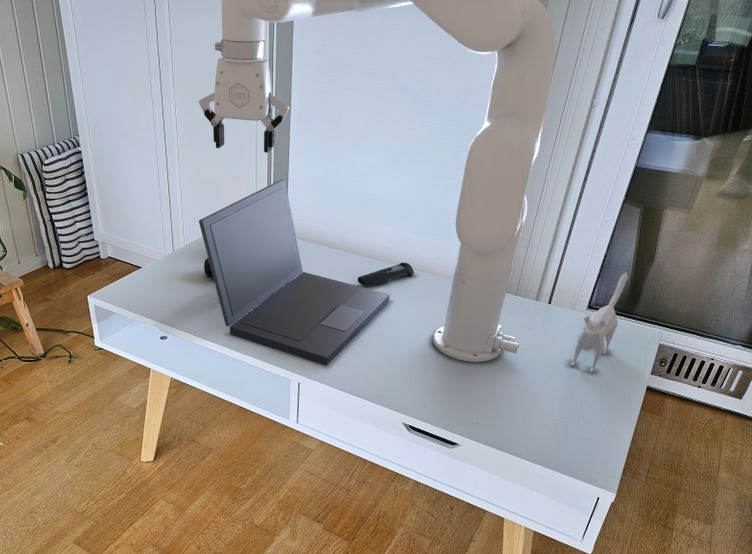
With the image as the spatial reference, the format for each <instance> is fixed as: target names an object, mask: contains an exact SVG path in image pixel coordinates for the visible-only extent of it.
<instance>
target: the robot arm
mask: <svg viewBox="0 0 752 554" xmlns="http://www.w3.org/2000/svg"><path fill="white" fill-rule="evenodd" d="M412 4H413V5H414V6H415V7H416V8H417V9H418V10H419V11H420V12H421V13H422V14H424V16H426V17H427V18H429V19H430V20H431V21H432V22H433V23H434V24H436V25H437V26H438V27H439V28H440V29H441V30H443V31H444V32H445V33H446V34H447V35H449V37H451V38H452V39H453V40H454V41H455V42H457V43H458V44H459V45H461V47H463V48H465V50H466V49H467V50H468V51H470V52H472V53H475V54H478V55H479V54H480V55H490V54H492V53H495V59H496V60H495V67H494V68H495V69H494V73H493V76H492V81H491V86H490V93H489V99H488V104H487V105H488V106H487V109H486V115H485V119H484V123H483V126H482V127H481V129H480V130H479V131H478V133H476V134H475V136H474V137H473V140H472V141H471V143H470V144H469V148H468V151H467V154H466V157H465V162H464V169H463V174H462V180H461V186H460V191H459V199H458V204H457V209H456V215H455V232H456V236H457V239H458V241H459V243H460V244H459V247H458V252H457V256H456V263H455V267H454V271H453V277H452V282H451V288H450V293H449V298H448V304H447V310H446V315H445V319H444V325H443V326H441V327H439V328H438V329H436V330H435V332H434V333H433V338H432V339H433V345H434V346H435V347H436V349H438V350H439V351H440V352H441V353H443V354H444V355H446V356H448V357H450V358H453V359H456V360H459V361H464V362H470V363H480V362H481V363H483V362H489V361H491V360H494V359H496V358H498V356H500V354H501V353H502V351H506V352H509V353H512V354H517V353H518V350H519V348H520V343H519V342H516V337H515V336H512V335H507V334H503V333H504V332H502V331H501V330H502V325H501V324H499V323H500V320H501V316H502V311H503V308H504V303H505V298H506V294H507V290H508V286H509V282H510V278H511V275H512V272H513V271H512V270H513V267H514V263H515V260H516V259H515V258H516V254H517V251H518V246H519V243H520V239H521V235H522V233H523V228H524V225H525V222H526V217H527V213H528V212H527V211H528V200H527V197H526V196H527V195H526V193H527V188H528V184H529V181H530V175H531V171H532V167H533V164H534V162H535V160H536V158H537V155H538V154H539V150H540V144H541V134H542V130H543V129H542V128H543V123H544V119H545V115H546V110H547V105H548V99H549V95H550V89H551V84H552V80H553V74H554V68H555V62H556V54H557V52H556V51H557V40H556V31H555V27H554V24H553V20H552V19H551V16H550V14H549V12H548V10H547V8H546V7H545V6H544V5H543V3H542V2H541V1H540V0H221V36H222V37H221V38H222V39H221V40H220V41H219V42H218V41H217V42H215V44H214V50H215V51H217V52H220V53H221V54H220V55H221V56H222V57H219V58H218V59H217V64H216V71H215V79H214V80H215V81H214V92H212V93H210V94H208V95H207V96H205V97H202V98H201V99H199V100H198V104H199V106H200V108H201V110H202V112H203V115H204V117H205V118H206V119H207V120H208V122H209V123H210V125H211V127H212V129H213V143H215V148H216V149H221V148H222V147H223V146H224V145H225V124H224V123H223V120H224V119H229V120H241V121H254V122H255V121H256V122H258V121H259V122H261V123H262V124H263V126H264V127H265V130H264V132H263V152H264V153H267V154H268V153H269V152H270V151H272V148H274V146H275V129H276V128H277V127H278V126H279V125H280V124H281V123H283V121H284V119H285V117H286V116H287V114H288V112H289V110H290V105H289V104H287V103H286V102H284V101H283V100H281V99H280V98H279V97H276V95H273V94H272V82H271V72H270V65H269V61H268V59H266V58H265V43H266V42H265V39H266V37H265V36H266V35H265V34H266V31H265V30H266V22H267V23H274V24H278V23H279V24H281V23H286V22H293V21H299V20H305V19H309V18H317V17H321V16H327V15H332V14H338V13H345V12H346V13H347V12H357V13H366V12H371V11H378V10H383V9H388V8H394V7H401V6H407V5H412ZM212 102H213V109H214V111H213V109H211V106H210V103H212ZM272 107H274V108H276V109H278V113H277V115H276V117H275V118H274V117H272V114H271V113H272Z"/></svg>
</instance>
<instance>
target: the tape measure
mask: <svg viewBox="0 0 752 554" xmlns="http://www.w3.org/2000/svg"><path fill="white" fill-rule="evenodd" d="M203 271H204V274H205V275H206V277H207V278H208V279H214V278H213V275H212V271H211V267H210V263H209V259H208V257H206V258H205V260H204V262H203Z"/></svg>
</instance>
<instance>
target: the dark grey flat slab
mask: <svg viewBox="0 0 752 554" xmlns="http://www.w3.org/2000/svg"><path fill="white" fill-rule="evenodd" d="M390 295H391V294H390V293H386V292H382V291H379V290H375V289H371V288H367V287H364V286H359V285H356V284H352V283H347V282H344V281H340V280H336V279H332V278H329V277H326V276H325V277H324V276H320V275H317V274H313V273H309V272H305V271H303V272H302V273H300V274H299V275H298V276H296V277H295V278H294V279H292V280H291V281H290V282H288V283H287V284H286V285H284V286H283V287H282V288H280V289H279V290H277V291H276V292H275V293H273V294H272V295H271V296H269V297H268V298H267V299H265V300H264V301H263V302H261V303H260V304H259V305H257V306H256V307H255V308H253V309H252V310H251V311H249V312H248V313H247V314H245V315H244V316H243V317H241V318H240V319H238V320H237V321H236V322H234V323H233V324H232V325H230V326H229V335H230V336H233V337H236V338H240V339H241V340H246V341H248V342H252V343H253V344H254V343H255V344H258V345H261V346H263V347H267V348H270V349H273V350H275V351H279V352H282V353H285V354H288V355H292V356H294V357H298V358H301V359H304V360H307V361H310V362H313V363H316V364H318V365H322V366H325V367H327V366H329V364H330V363H331V362H333V360H334V359H335V358H336V357H337V356H339V354H340V353H341V352H342V351H343V350H344V349H345V348H346V347H347V345H349V344H350V343H351V342H352V340H353V339H354V338H355V337H356V336H357V335H358V334H359V333H360V332H361V331H362V330H363V329H364V328H365V327H366V326H367V325H368V324H369V323H370V322H371V321H372V320H373V319H374V318H375V317H376V316H377V315H378V314H379V312H381V311H382V309H384V307H385V306H386V305H387V304H388V303H389V302H390V298H391V297H390Z"/></svg>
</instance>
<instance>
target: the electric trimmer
mask: <svg viewBox="0 0 752 554" xmlns="http://www.w3.org/2000/svg"><path fill="white" fill-rule="evenodd" d="M414 274H415V272H414V269H413V267H412V266H411V265H410V264H409V263H408V262H400V263H399V264H396V265H393V266H389V267H386V268H383V269H379V270H376V271H373V272H370V273H367V274H364V275H360V276H358V277H357V283H358V284H360V285H362V287H368V286H376V285H380V284H385V283H388V281H389V280H390V281H391V280H394V279H397V278H401V277H405V276H408V277H413V275H414Z"/></svg>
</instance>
